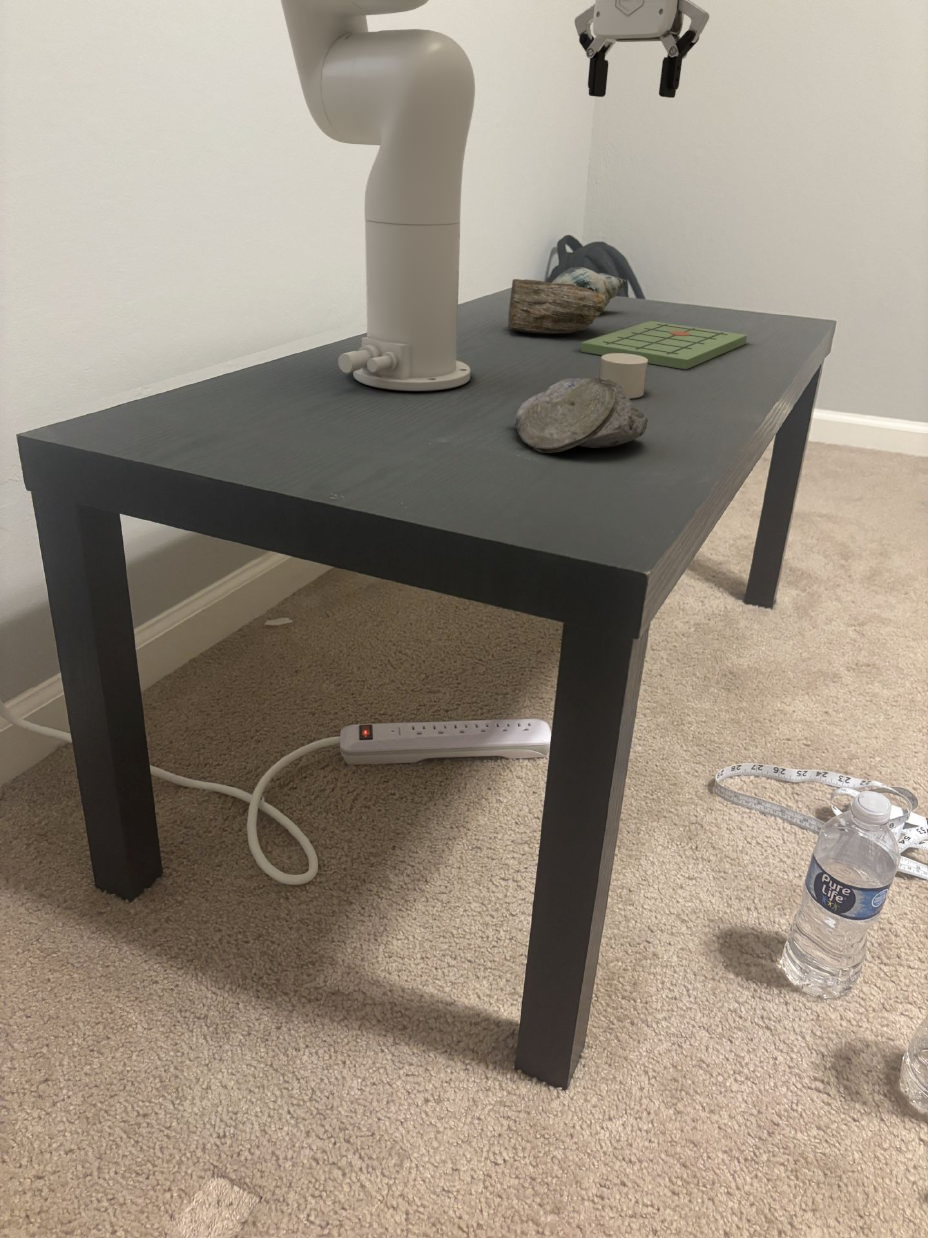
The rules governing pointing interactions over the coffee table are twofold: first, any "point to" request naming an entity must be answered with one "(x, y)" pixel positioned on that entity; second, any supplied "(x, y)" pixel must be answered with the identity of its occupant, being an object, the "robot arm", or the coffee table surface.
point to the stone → (552, 307)
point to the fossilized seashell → (579, 416)
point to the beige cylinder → (625, 372)
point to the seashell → (592, 281)
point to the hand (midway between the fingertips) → (631, 96)
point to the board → (666, 343)
